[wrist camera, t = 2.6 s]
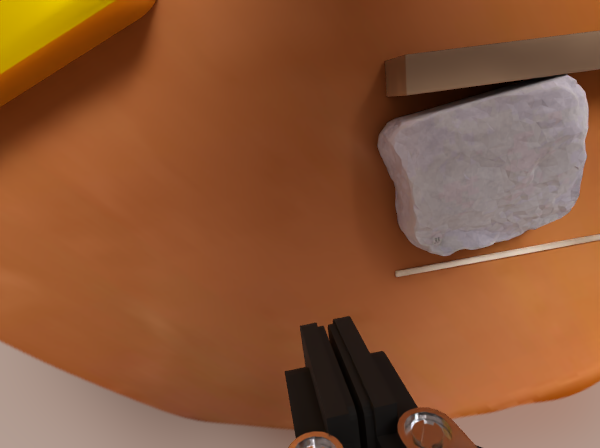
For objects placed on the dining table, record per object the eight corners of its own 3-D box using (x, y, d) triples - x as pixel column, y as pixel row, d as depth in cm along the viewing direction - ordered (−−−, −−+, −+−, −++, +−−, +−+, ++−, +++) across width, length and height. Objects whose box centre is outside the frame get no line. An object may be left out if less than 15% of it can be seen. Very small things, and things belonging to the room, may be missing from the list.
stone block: (535, 195, 29) (547, 58, 24) (586, 226, 25) (614, 68, 20) (387, 241, 29) (366, 113, 24) (413, 280, 24) (395, 134, 19)
